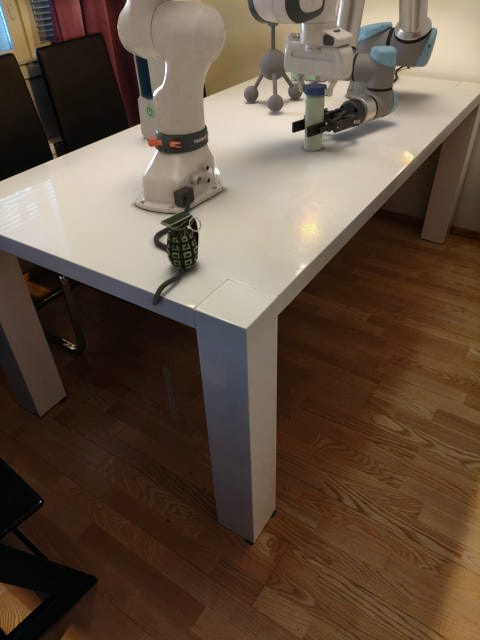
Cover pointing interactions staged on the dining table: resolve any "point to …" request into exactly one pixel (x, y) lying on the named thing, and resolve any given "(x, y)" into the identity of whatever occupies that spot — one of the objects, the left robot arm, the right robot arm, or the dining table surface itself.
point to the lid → (314, 89)
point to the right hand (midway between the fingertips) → (300, 129)
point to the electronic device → (148, 92)
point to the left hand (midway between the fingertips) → (315, 93)
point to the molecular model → (272, 76)
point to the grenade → (182, 240)
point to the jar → (313, 121)
